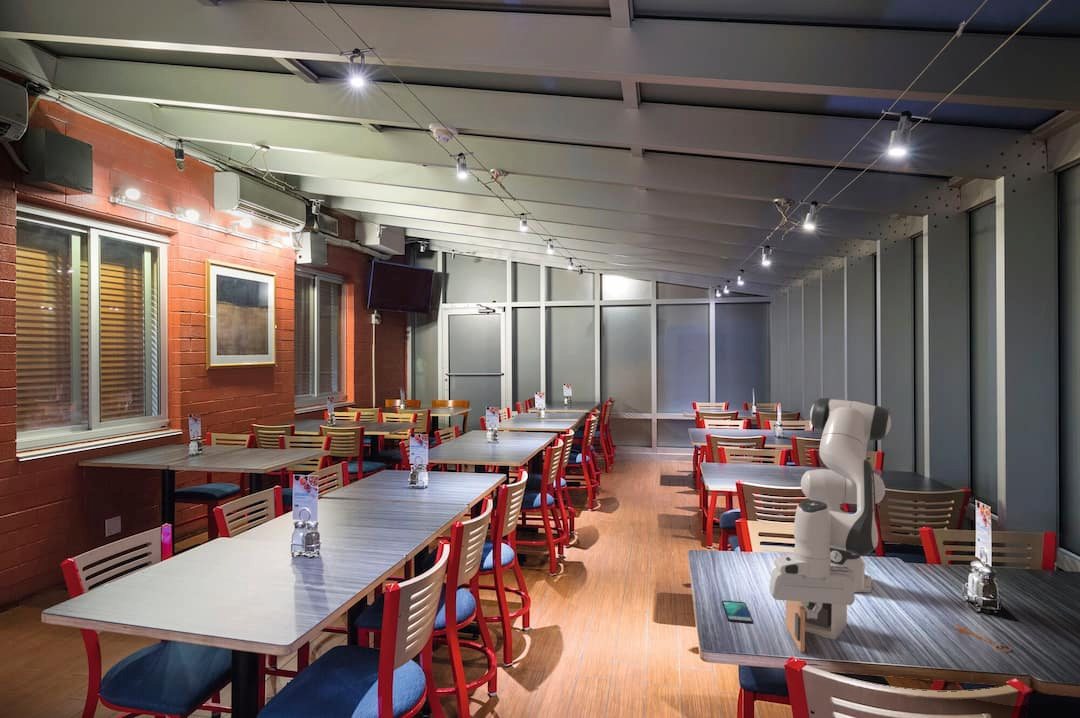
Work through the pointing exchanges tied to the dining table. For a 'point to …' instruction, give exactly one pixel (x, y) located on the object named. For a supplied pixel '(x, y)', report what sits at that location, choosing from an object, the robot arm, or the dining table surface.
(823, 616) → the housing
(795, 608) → the hatch
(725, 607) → the smartphone
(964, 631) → the key
